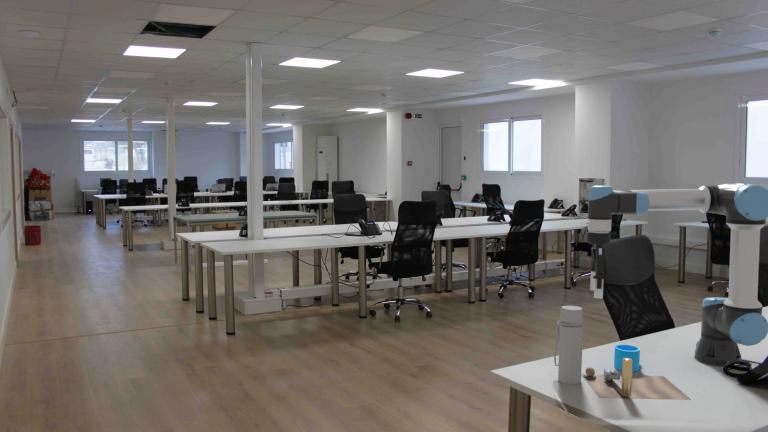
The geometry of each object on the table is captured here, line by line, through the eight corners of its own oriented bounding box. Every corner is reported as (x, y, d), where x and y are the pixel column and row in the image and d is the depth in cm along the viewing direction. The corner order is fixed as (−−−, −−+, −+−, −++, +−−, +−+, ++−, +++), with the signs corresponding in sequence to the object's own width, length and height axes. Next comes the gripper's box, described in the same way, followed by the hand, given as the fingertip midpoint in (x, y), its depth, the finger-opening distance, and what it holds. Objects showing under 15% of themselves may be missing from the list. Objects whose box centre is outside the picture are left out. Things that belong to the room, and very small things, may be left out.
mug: (631, 376, 215) (632, 352, 214) (609, 370, 221) (610, 347, 220) (649, 369, 222) (650, 346, 222) (627, 363, 229) (628, 341, 228)
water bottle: (585, 383, 207) (588, 307, 205) (573, 389, 202) (576, 311, 200) (560, 376, 214) (562, 303, 212) (547, 382, 208) (550, 306, 206)
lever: (600, 375, 210) (602, 342, 209) (614, 375, 210) (615, 342, 209) (620, 397, 191) (621, 360, 190) (635, 397, 191) (636, 361, 190)
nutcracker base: (663, 379, 212) (664, 366, 211) (691, 403, 191) (691, 388, 190) (581, 377, 213) (581, 364, 213) (599, 401, 192) (600, 386, 192)
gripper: (584, 227, 228) (581, 286, 229) (590, 235, 203) (587, 301, 205) (606, 228, 226) (603, 287, 228) (615, 236, 202) (612, 302, 204)
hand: (596, 294), depth 216 cm, fingers open, 13 cm apart
